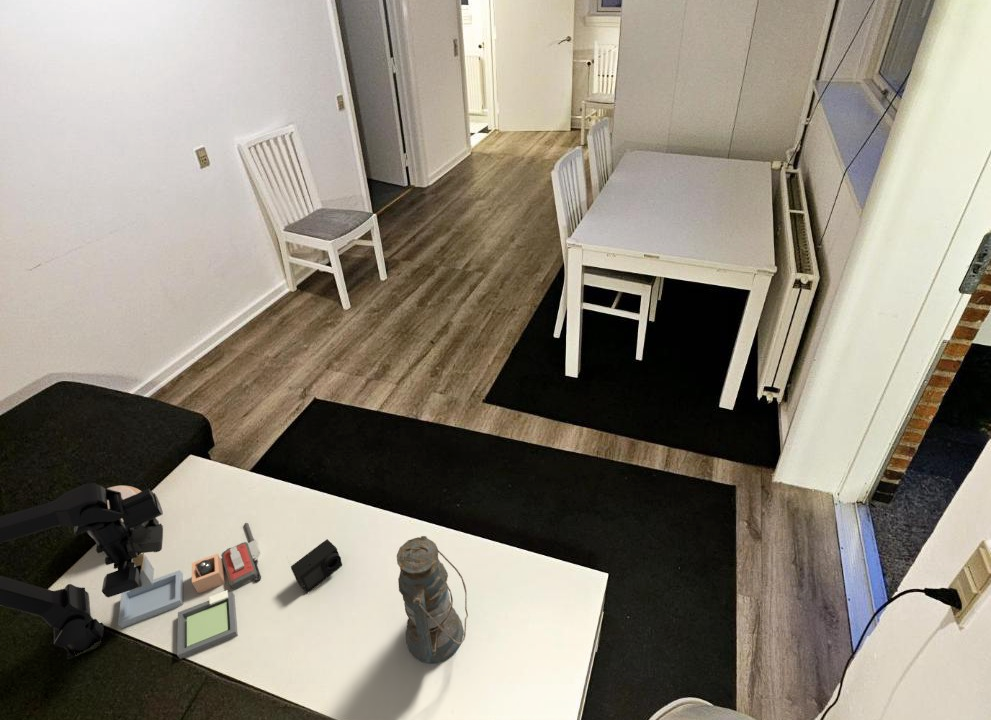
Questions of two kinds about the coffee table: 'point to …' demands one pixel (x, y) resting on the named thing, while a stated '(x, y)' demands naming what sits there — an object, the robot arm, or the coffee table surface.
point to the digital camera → (316, 565)
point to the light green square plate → (207, 624)
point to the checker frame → (213, 640)
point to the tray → (151, 599)
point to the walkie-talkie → (242, 562)
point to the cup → (210, 579)
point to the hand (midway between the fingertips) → (140, 577)
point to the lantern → (428, 602)
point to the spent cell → (205, 567)
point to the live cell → (144, 571)
